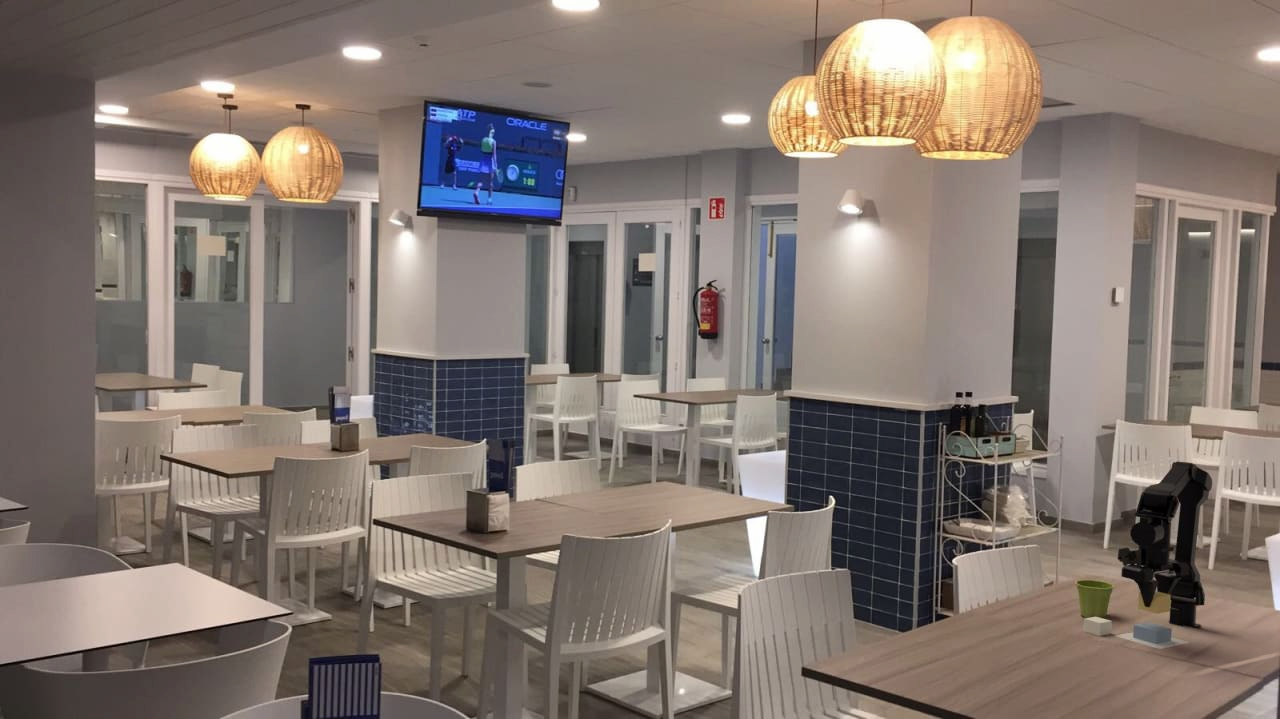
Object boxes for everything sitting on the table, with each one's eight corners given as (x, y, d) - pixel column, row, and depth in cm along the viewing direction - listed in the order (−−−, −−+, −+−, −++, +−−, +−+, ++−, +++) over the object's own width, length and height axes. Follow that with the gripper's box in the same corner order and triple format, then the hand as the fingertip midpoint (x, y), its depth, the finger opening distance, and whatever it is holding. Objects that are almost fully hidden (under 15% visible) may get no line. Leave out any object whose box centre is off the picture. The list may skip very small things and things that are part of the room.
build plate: (1144, 633, 282) (1144, 629, 282) (1189, 645, 272) (1190, 642, 272) (1114, 639, 276) (1114, 635, 276) (1159, 652, 265) (1160, 648, 265)
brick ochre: (1150, 606, 277) (1151, 590, 277) (1169, 611, 273) (1170, 594, 272) (1138, 608, 274) (1138, 592, 274) (1157, 613, 270) (1157, 597, 270)
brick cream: (1094, 632, 282) (1095, 616, 281) (1111, 637, 278) (1111, 621, 278) (1083, 634, 279) (1084, 618, 279) (1099, 639, 275) (1100, 623, 275)
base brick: (1148, 634, 278) (1148, 622, 278) (1171, 640, 273) (1171, 628, 273) (1133, 637, 275) (1133, 625, 274) (1155, 643, 270) (1156, 631, 269)
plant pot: (1107, 623, 290) (1108, 590, 290) (1069, 616, 296) (1070, 583, 295) (1117, 616, 297) (1118, 583, 297) (1079, 610, 303) (1081, 578, 303)
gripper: (1150, 532, 285) (1146, 594, 285) (1103, 538, 275) (1100, 602, 275) (1192, 540, 275) (1188, 604, 276) (1145, 546, 265) (1141, 613, 266)
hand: (1153, 605), depth 273 cm, fingers closed on brick ochre, 5 cm apart
